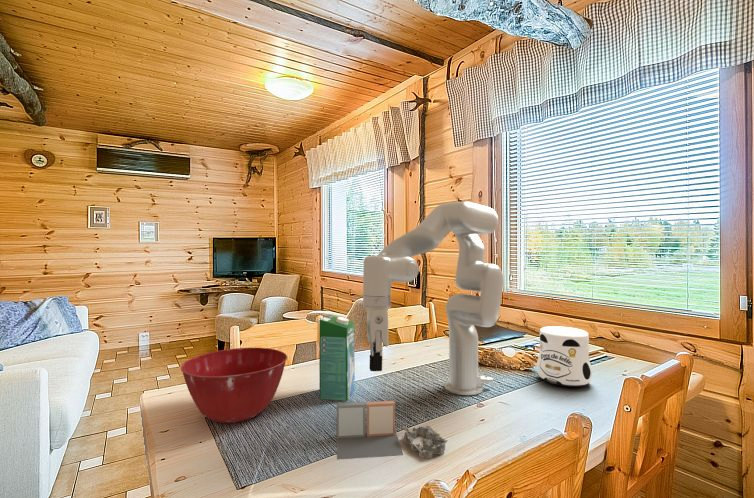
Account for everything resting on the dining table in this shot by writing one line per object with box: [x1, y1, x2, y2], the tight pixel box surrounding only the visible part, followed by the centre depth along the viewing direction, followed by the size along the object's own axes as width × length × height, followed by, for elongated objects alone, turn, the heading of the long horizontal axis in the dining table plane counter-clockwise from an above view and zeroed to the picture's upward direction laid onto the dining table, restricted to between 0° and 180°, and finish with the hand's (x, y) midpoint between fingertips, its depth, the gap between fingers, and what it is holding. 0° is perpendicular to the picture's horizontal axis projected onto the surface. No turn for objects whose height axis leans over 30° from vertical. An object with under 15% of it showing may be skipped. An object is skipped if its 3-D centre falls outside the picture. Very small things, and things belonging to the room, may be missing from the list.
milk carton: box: [318, 314, 356, 402], centre depth 123 cm, size 9×9×25 cm
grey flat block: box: [336, 401, 366, 439], centre depth 95 cm, size 7×2×8 cm, turn 97°
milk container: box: [536, 325, 593, 388], centre depth 134 cm, size 17×17×18 cm
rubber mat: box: [336, 425, 404, 460], centre depth 93 cm, size 15×15×1 cm
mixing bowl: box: [180, 347, 288, 424], centre depth 110 cm, size 28×28×16 cm
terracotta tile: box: [365, 400, 396, 437], centre depth 96 cm, size 7×2×8 cm, turn 96°
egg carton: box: [401, 425, 449, 459], centre depth 91 cm, size 11×8×4 cm
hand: (375, 370), depth 103 cm, fingers closed
